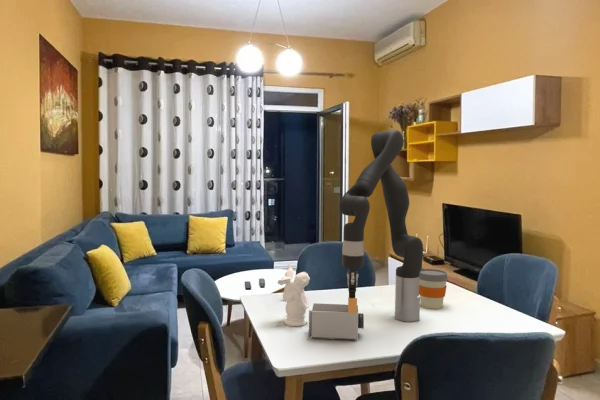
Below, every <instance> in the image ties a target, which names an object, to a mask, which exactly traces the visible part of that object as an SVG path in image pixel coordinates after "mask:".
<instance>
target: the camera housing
mask: <svg viewBox="0 0 600 400" xmlns="http://www.w3.org/2000/svg"><path fill="white" fill-rule="evenodd" d="M311 311H335V312H348V304H340V303H313V304H312V309H311ZM357 312H358V330H359V329H360V330H361V329H362V330H363V329H364V327H365V326H364V324H365V322H364V317H365V315H364V313H359V305H358V304H357ZM311 339H322V340H323V339H326V340H346V341H347V340H348V341H358V340H359V338H358V339H347V338H326V337H311Z"/></svg>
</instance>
